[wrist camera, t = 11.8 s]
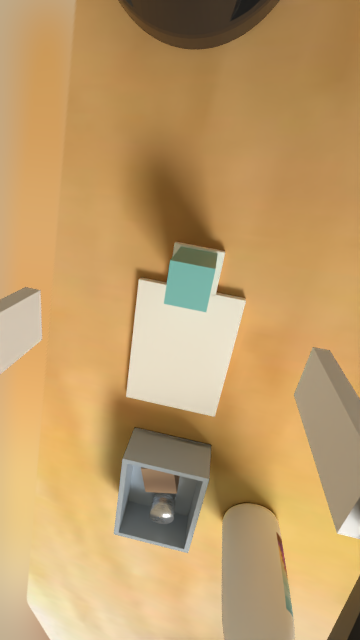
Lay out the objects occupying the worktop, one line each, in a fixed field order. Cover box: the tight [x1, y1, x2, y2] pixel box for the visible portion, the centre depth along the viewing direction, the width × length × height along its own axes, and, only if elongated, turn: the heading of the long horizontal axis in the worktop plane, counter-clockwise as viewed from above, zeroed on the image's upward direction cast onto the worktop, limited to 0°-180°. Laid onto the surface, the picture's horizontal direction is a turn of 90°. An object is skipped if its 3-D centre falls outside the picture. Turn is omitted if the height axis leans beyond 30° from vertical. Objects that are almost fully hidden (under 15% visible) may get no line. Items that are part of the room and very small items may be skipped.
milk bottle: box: [222, 503, 295, 640], centre depth 34 cm, size 8×8×20 cm
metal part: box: [149, 492, 176, 524], centre depth 41 cm, size 3×3×3 cm
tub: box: [114, 427, 211, 553], centre depth 39 cm, size 14×10×5 cm
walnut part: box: [141, 467, 180, 494], centre depth 39 cm, size 4×4×3 cm
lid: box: [126, 242, 246, 417], centre depth 30 cm, size 19×11×7 cm, turn 171°
